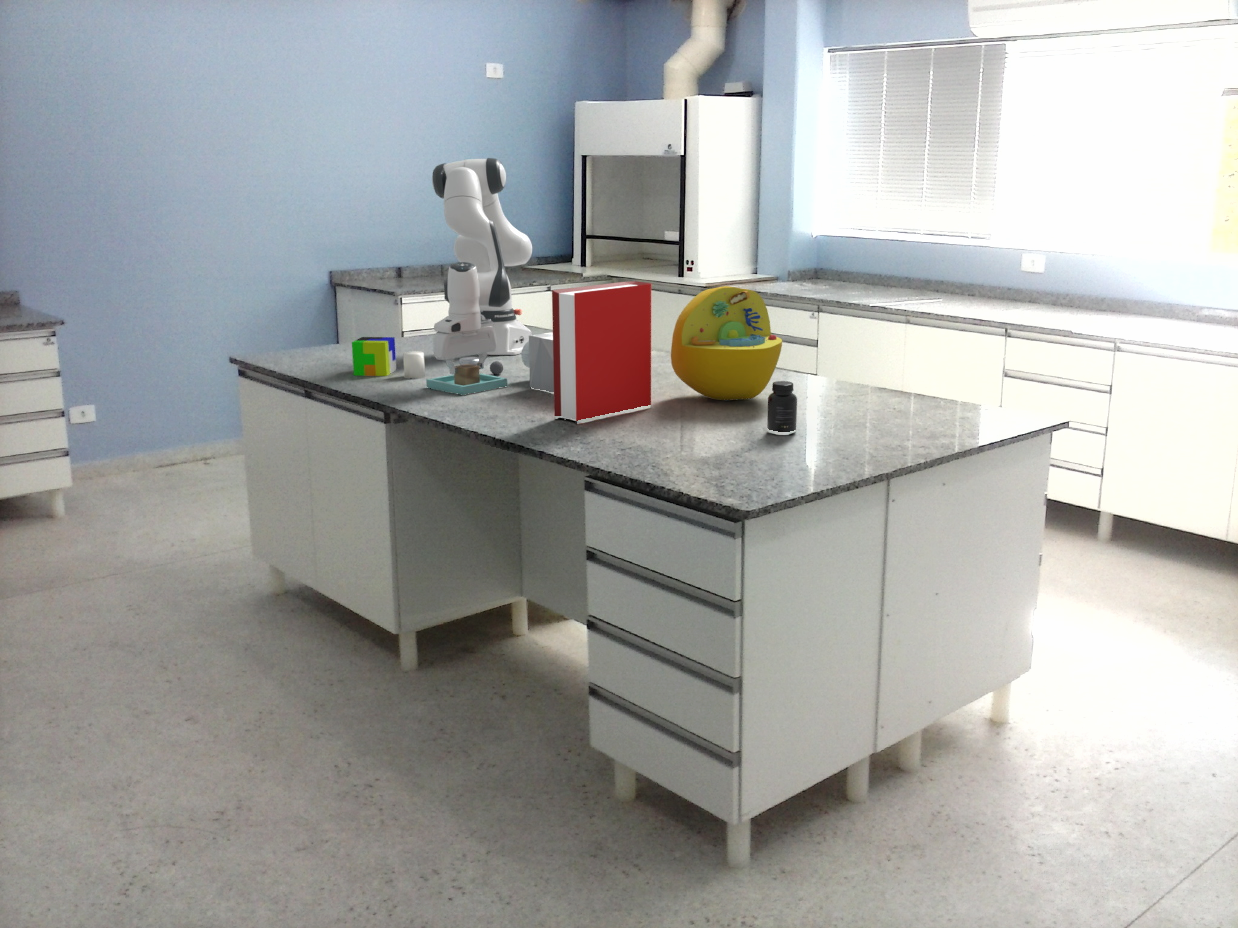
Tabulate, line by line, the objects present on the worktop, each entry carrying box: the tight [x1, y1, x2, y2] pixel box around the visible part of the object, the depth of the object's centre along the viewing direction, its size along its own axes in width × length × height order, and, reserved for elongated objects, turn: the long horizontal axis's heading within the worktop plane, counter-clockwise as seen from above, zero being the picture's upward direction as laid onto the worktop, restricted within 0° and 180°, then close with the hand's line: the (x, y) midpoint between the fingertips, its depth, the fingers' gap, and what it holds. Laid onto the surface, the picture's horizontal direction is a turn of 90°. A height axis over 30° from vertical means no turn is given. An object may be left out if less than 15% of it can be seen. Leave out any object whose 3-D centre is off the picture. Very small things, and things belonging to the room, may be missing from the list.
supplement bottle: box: [766, 380, 798, 432], centre depth 275 cm, size 7×7×12 cm
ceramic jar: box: [402, 350, 426, 379], centre depth 345 cm, size 6×6×7 cm
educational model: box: [670, 285, 783, 401], centre depth 308 cm, size 29×30×30 cm
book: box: [551, 280, 652, 421], centre depth 293 cm, size 27×8×32 cm, turn 134°
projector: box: [520, 331, 554, 392], centre depth 327 cm, size 35×19×15 cm, turn 42°
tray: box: [425, 372, 508, 396], centre depth 330 cm, size 16×16×2 cm
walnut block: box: [454, 364, 480, 386], centre depth 329 cm, size 5×5×5 cm
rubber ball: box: [489, 360, 504, 376], centre depth 347 cm, size 4×4×4 cm
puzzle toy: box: [351, 336, 397, 377], centre depth 351 cm, size 10×10×10 cm
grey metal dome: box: [459, 356, 480, 365], centre depth 358 cm, size 7×7×3 cm
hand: (467, 371), depth 329 cm, fingers open, 8 cm apart
